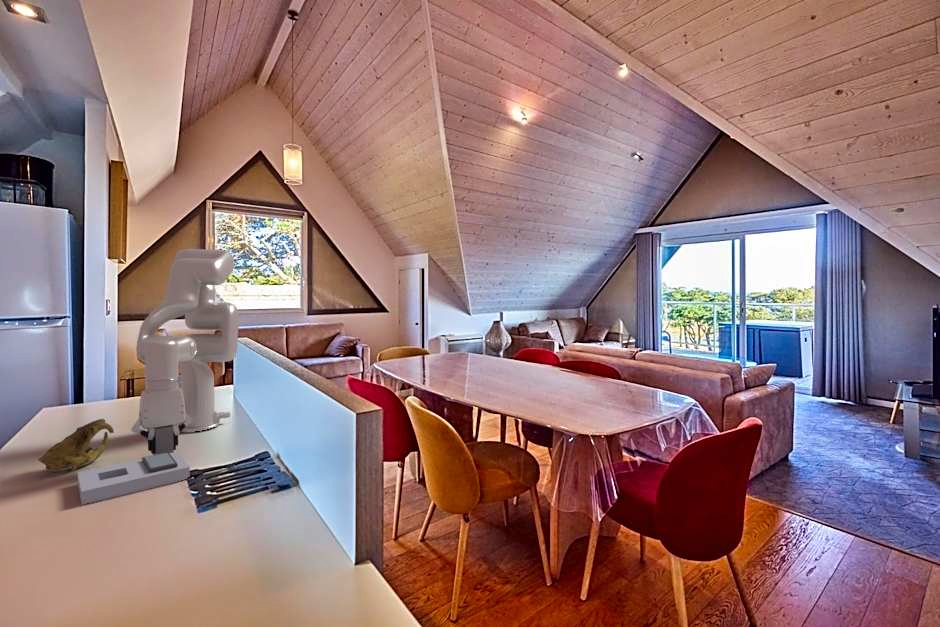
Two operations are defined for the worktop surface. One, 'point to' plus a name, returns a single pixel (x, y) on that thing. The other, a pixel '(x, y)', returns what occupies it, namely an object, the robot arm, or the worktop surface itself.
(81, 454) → the animal skull
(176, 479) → the dock board
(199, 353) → the robot arm
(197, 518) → the worktop surface
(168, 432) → the block
